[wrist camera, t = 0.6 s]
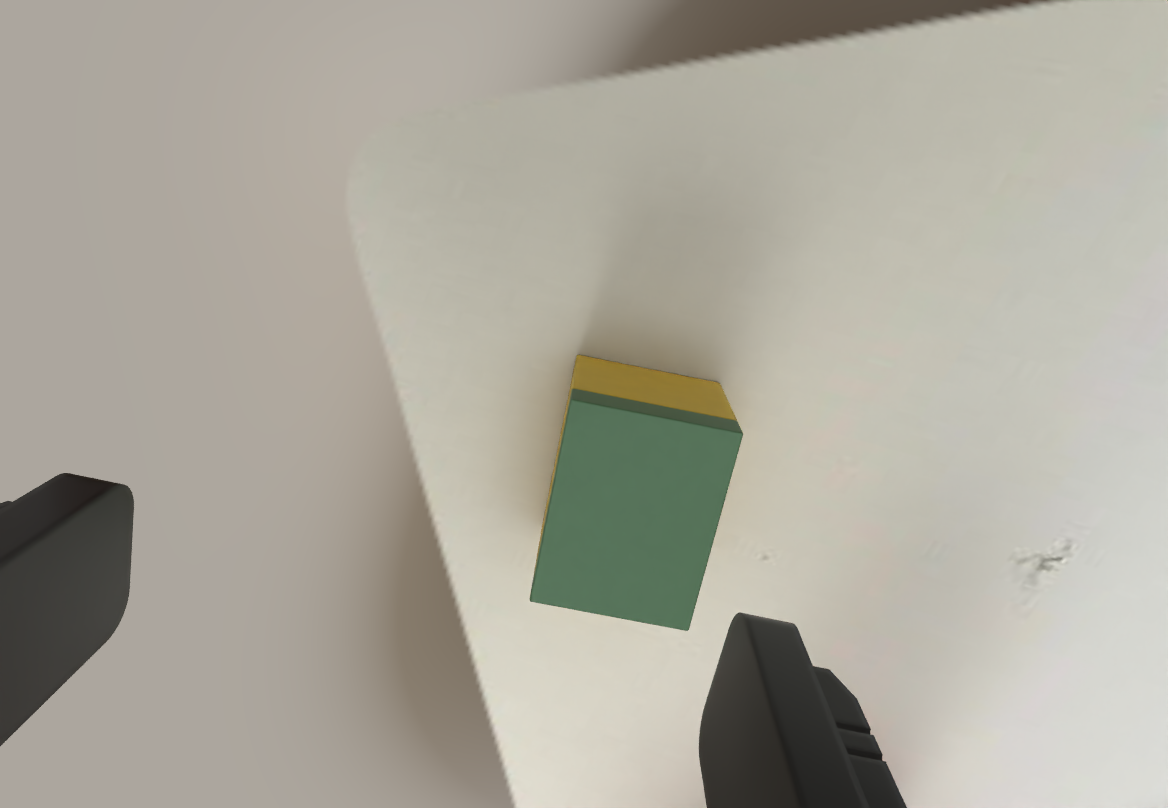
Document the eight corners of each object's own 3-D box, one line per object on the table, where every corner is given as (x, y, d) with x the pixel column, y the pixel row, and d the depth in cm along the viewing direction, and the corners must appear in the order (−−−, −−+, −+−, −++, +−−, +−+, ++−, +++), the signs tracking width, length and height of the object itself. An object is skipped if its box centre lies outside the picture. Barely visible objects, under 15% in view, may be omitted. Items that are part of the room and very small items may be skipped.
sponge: (576, 354, 25) (570, 398, 20) (720, 382, 25) (743, 433, 21) (541, 527, 27) (529, 601, 22) (675, 552, 27) (688, 632, 22)
